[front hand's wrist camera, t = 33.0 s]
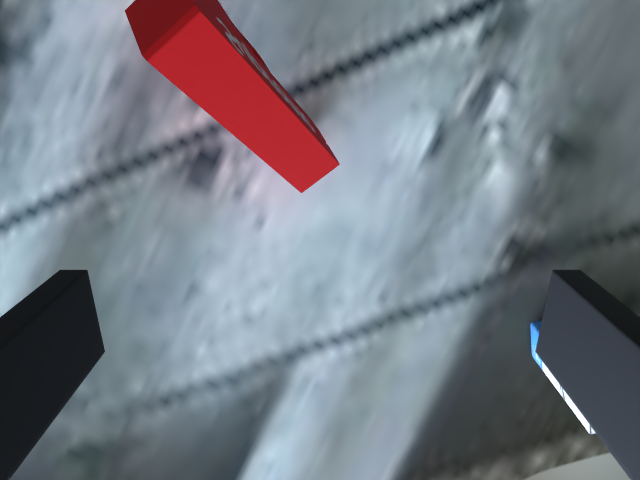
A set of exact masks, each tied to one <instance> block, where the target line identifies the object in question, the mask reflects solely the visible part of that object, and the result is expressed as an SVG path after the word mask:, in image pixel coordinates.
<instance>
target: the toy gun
mask: <svg viewBox="0 0 640 480" xmlns="http://www.w3.org/2000/svg"><path fill="white" fill-rule="evenodd" d="M125 12H126V15H127V18H128V20H129V23H130V25H131V28H132V31H133V33H134V36H135V38H136V41H137V44H138V46H139V49H140V51H141V54H142V56H143V57H144V58H145V59H146V60H147V61H148V62H149V63H150V64H151V65H152V66H153V67H155V68H156V69H157V70H158V71H159V72H160V73H162V74H163V75H164V76H165V77H166V78H167V79H169V80H170V81H171V82H172V83H173V84H174V85H176V86H177V87H178V88H179V89H180V90H181V91H183V92H184V93H185V94H186V95H187V96H188V97H190V98H191V99H192V100H193V101H194V102H195V103H197V104H198V105H199V106H200V107H201V108H203V109H204V110H205V111H206V112H207V113H208V114H210V115H211V116H212V117H213V118H214V119H215V120H217V121H218V122H219V123H220V124H221V125H222V126H224V127H225V128H226V129H227V130H228V131H229V132H231V133H232V134H233V135H234V136H235V137H236V138H238V139H239V140H240V141H241V142H242V143H243V144H245V145H246V146H247V147H248V148H249V149H250V150H252V151H253V152H254V153H255V154H256V155H257V156H259V157H260V158H261V159H262V160H263V161H264V162H266V163H267V164H268V165H269V166H270V167H272V168H273V169H274V170H275V171H276V172H277V173H279V174H280V175H281V176H282V177H283V178H284V179H286V180H287V181H288V182H289V183H290V184H291V185H293V186H294V187H295V188H296V189H297V190H298V191H300V192H301V193H302V192H304V191H305V190H306V189H308V188H309V187H310V186H312V185H313V184H314V183H316V182H317V181H318V180H320V179H321V178H322V177H324V176H325V175H326V174H328V173H329V172H330V171H332V170H333V169H334V168H336V167H337V166H338V165H339V162H338V161H337V159H336V157H335V156H334V154H333V152H332V151H331V149H330V148H329V146H328V145H327V144H326V141H325V139H324V138H323V136H322V135H321V133H320V131H319V130H318V128H317V127H316V126H315V124H314V123H313V122H312V120H311V119H310V118H309V117H308V116H307V114H306V113H305V112H304V111H303V110H302V109H301V107H300V106H299V105H298V104H297V103H296V102H295V101H294V99H293V98H292V97H291V96H290V95H289V94H288V92H287V91H286V90H285V89H284V88H283V87H282V85H281V84H280V83H279V82H278V81H277V80H276V79H275V77H274V76H273V75H272V74H271V73H270V71H269V69H268V68H267V66H266V64H265V63H264V61H263V59H262V58H261V57H260V55H259V54H258V53H257V51H256V50H255V49H254V48H253V47H252V45H251V44H250V43H249V42H248V41H247V40H246V38H245V37H244V36H243V35H242V34H241V33H240V31H239V30H238V29H237V28H236V27H235V26H234V24H233V23H232V21H231V20H230V18H229V17H228V15H227V14H226V12H225V11H224V9H223V8H222V6H221V5H220V3H219V2H218V0H135V1H134V2H133V3H132V4H131V5H130V6H129V7H128V8H127V9H126V10H125Z"/></svg>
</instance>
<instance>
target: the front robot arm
mask: <svg viewBox="0 0 640 480" xmlns="http://www.w3.org/2000/svg"><path fill="white" fill-rule="evenodd" d="M104 352H105V350H104V345H103V341H102V336H101V331H100V327H99V322H98V317H97V313H96V308H95V303H94V299H93V294H92V289H91V285H90V280H89V276H88V271H87V270H59V271H58V272H57V273H56V274H54V275H53V276H52V277H51V278H49V279H48V280H47V281H46V282H44V283H43V284H42V285H41V286H39V287H38V288H37V289H35V290H34V291H33V292H32V293H30V294H29V295H28V296H27V297H25V298H24V299H23V300H22V301H20V302H19V303H18V304H17V305H15V306H14V307H13V308H12V309H10V310H9V311H8V312H6V313H5V314H4V315H3V316H1V317H0V480H9V479H10V478H11V477H12V475H13V474H14V473H15V471H16V470H17V469H18V467H19V466H20V465H21V463H22V462H23V461H24V459H25V458H26V457H27V455H28V454H29V453H30V451H31V450H32V448H33V447H34V446H35V444H36V443H37V442H38V440H39V439H40V438H41V436H42V435H43V434H44V432H45V431H46V430H47V428H48V427H49V426H50V424H51V423H52V422H53V420H54V419H55V418H56V416H57V415H58V414H59V412H60V411H61V410H62V408H63V407H64V406H65V404H66V403H67V402H68V400H69V399H70V398H71V396H72V395H73V394H74V392H75V391H76V390H77V388H78V387H79V386H80V384H81V383H82V382H83V380H84V379H85V378H86V376H87V375H88V374H89V372H90V371H91V370H92V368H93V367H94V366H95V364H96V363H97V362H98V360H99V359H100V357H101V356H102V355H103V353H104ZM535 352H536V353H537V355H538V356H539V358H540V359H541V360H542V362H543V363H544V364H545V366H546V367H547V368H548V370H549V371H550V372H551V374H552V375H553V376H554V378H555V379H556V380H557V382H558V383H559V384H560V386H561V387H562V388H563V390H564V391H565V392H566V394H567V395H568V396H569V398H570V399H571V400H572V402H573V403H574V404H575V406H576V407H577V408H578V410H579V411H580V412H581V414H582V415H583V416H584V418H585V419H586V420H587V422H588V423H589V424H590V426H591V427H592V428H593V430H594V431H595V432H596V434H597V435H598V436H599V438H600V439H601V440H602V442H603V443H604V444H605V446H606V447H607V449H608V450H609V451H610V453H611V454H612V455H613V457H614V458H615V459H616V460H617V462H618V463H619V465H620V466H621V467H622V469H623V470H624V471H625V473H626V474H627V475H628V477H629V478H630V479H631V480H640V317H639V316H637V315H636V314H635V313H634V312H632V311H631V310H630V309H628V308H627V307H626V306H625V305H623V304H622V303H621V302H620V301H618V300H617V299H616V298H615V297H613V296H612V295H611V294H610V293H608V292H607V291H606V290H605V289H603V288H602V287H601V286H599V285H598V284H597V283H596V282H594V281H593V280H592V279H591V278H589V277H588V276H587V275H586V274H584V273H583V272H582V271H581V270H553V271H552V276H551V280H550V285H549V289H548V294H547V299H546V303H545V308H544V313H543V317H542V322H541V327H540V331H539V336H538V341H537V345H536V350H535Z"/></svg>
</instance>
